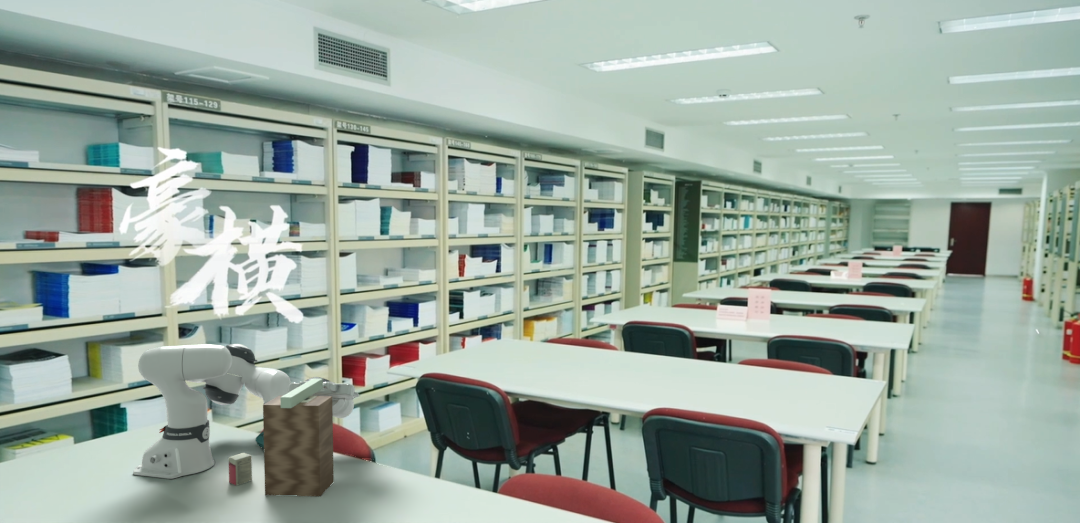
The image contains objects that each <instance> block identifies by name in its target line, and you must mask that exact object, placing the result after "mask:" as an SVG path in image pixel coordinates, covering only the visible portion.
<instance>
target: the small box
mask: <svg viewBox="0 0 1080 523" xmlns="http://www.w3.org/2000/svg"><path fill="white" fill-rule="evenodd" d="M227 462H228V482H229V484H232V485H234V486H237V487H238V486H240V485H243V484H245V483H249V482H251V481H253V472H252V471H253V469H252V468H253V467H252V466H253V463H252V455H251V454H249V453H246V452H241V453H237V454H235V455H231V456H228V461H227ZM248 481H249V482H248Z"/></svg>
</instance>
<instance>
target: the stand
mask: <svg viewBox="0 0 1080 523" xmlns="http://www.w3.org/2000/svg"><path fill="white" fill-rule="evenodd" d="M280 397H282V396H281V395H279V396H278V397H276V398H274V399H272V400H271V401H269V402H267V403H265V404H264V403H263V405H262V415H263V418H262V419H263V426H262V427H263V431H264V449H263V458H264V459H263V462H264V463H263V464H264V466H263V467H264V468H263V469H264V495H265V496H276V495H297V496H296V497H319V496H320V497H322V496H323V495H324V494H325V493H326V491H327V490H328V489H329V488H330V487H331V486H332V485H333V484H334V483H333V482H335V480H334V478H335V477H334V471H335V470H334V432H333V431H334V430H333V429H334V426H333V423H334V421H333V419H334V418H333V417H334V416H333V412H332V396H310V397H308V398H306V399H305V400H303V401H302V402H300V403H299V404H297V405H295V406H294V407H292V408H281V400H280ZM332 483H333V484H332ZM331 484H332V485H331ZM330 485H331V486H330Z"/></svg>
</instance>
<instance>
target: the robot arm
mask: <svg viewBox="0 0 1080 523" xmlns="http://www.w3.org/2000/svg"><path fill="white" fill-rule="evenodd" d="M255 363H258V359H256V356H255V353H254V352H253V351H252V349H250V348H249V347H248V346H246V345H245V344H241V343H232V344H230V343H228V344H227V345H226V346H225V345H220V344H213V343H212V344H211V343H205V344H203V343H202V344H185V345H183V344H180V345H162V346H156V347H154V348H150V349H146V350H145V351H144V352H143V353H142V354H141V356H140V358H139V360H138V367H137V368H138V372H139V374H140V376H141V377H142V378H143V379H144V380H146V381H147V382H149V383H150V384H152V385H153V386H154V387H155V388H157V390H158V391H159V393H161V395H162V397H163V399H164V401H165V402H164V403H165V407H166V408H165V409H166V413H167V414H166V415H167V416H166V417H167V424H166V425H164V426H163V427H161V428H160V429H159V434H161V433H162V437H160V438H159V439H158V440H157V441H155V442H154V443H153V444H152V445H151V446H149V447H148V448H147V449H145V451H144V452H143V455H142V460H141V463H140V464H138V465H137V466H136V467H134V469H133V472H132V474H133V475H135V476H142V477H144V476H145V477H152V478H160V479H168V480H170V479H177V478H179V477H182V476H188V475H193V474H197V473H201V472H204V471H206V470H208V469H210V468H212V467H213V466H215V463H216V461H215V460H214V457H213V454H212V450H211V449H212V448H211V446H210V445H211V444H210V435H211V434H210V433H211V430H210V427H211V426H210V420H209V419H208V400H210V401H211V402H212V403H213V404H217V405H221V406H228V405H232V404H234V403H236V401H237V400H238V398H239V396H240V395H239V394H240V392H241V390H242V388H243V386H244V387H245V389H246V390H247V392H249V393H250V394H252V395H253V396H256V397H258V398H260V399H262V401H263V405H264V404H265V403H267V402H269V401H271V400H272V399H274V398H276V397H278V396H279V395H281V396H283V395H285V394H287V393H289V392H290V391H292V390H294V389H296V388H297V387H299V386H301V385H303V384H304V383H306V382H308V381H310V380H311V379H323V388H322V389H321V390H319V391H317V392H316V393H314V394H313V395H311V396H332V412H333V417H334V418H337V419H345V418H347V417H348V416H350V415H351V414H352V413H353V410H354V407H355V403H354V399H355V398H358V397H360V394H359V393H358V392H357V391H356V388H355V386H354V385H353V384H351V383H336V382H333V381H331V380H328V379H327V378H324V377H319V376H313V377H309V378H308V379H306V380H305V381H299V382H292V381H291V378H290V376H289V375H288V374H287V373H286V372H284V371H283V370H279V369H277V368H272V367H261V366H257V365H255ZM187 382H189V383H196V384H197V383H200V384H201V383H205V386H202V390H205V394H204V393H202V392H201V391H199V390H197V389H194V388H192V387H190V385H188V384H187ZM207 398H208V399H207Z"/></svg>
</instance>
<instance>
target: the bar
mask: <svg viewBox="0 0 1080 523" xmlns="http://www.w3.org/2000/svg"><path fill="white" fill-rule="evenodd" d="M322 388H323V379H311V380H310V381H308V382H306V383H304V384H303V385H301V386H299V387H297V388H296V389H294V390H292V391H290V392H289V393H287V394H285V395H283V396H282V397H280V400H281V408H292V407H294V406H295V405H297V404H299V403H300V402H302V401H303V400H305V399H306V398H308V397H310V396H311V395H313V394H314V393H316V392H317V391H319V390H321V389H322Z"/></svg>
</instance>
